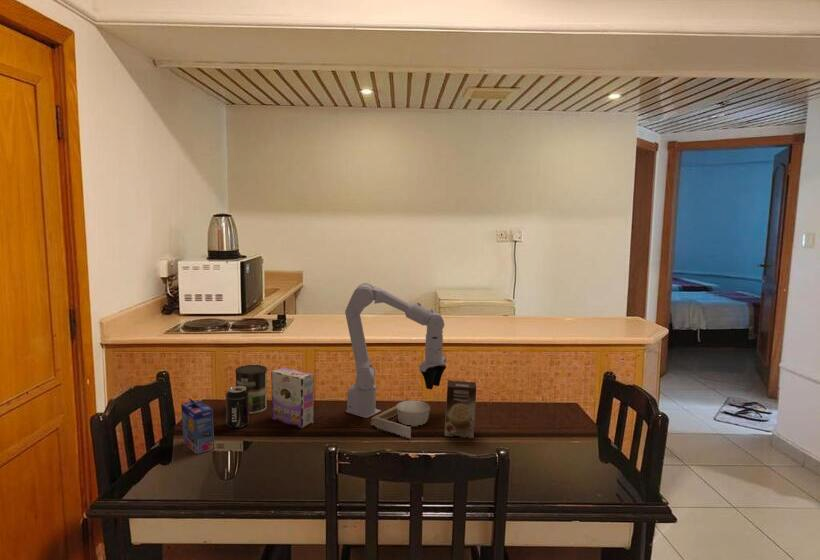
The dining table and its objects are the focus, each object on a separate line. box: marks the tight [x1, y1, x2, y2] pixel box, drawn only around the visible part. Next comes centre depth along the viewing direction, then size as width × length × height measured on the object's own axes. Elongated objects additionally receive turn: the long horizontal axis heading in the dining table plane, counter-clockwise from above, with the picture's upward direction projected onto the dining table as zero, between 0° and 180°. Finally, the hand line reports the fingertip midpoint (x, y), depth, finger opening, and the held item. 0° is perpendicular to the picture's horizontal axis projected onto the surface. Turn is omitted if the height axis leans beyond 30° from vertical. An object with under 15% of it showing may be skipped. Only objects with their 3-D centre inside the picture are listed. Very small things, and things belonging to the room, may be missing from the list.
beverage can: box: [225, 385, 250, 429], centre depth 167 cm, size 7×7×12 cm
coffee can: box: [235, 364, 268, 415], centre depth 181 cm, size 10×10×14 cm
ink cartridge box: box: [180, 397, 215, 455], centre depth 151 cm, size 10×6×14 cm, turn 44°
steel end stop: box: [375, 417, 412, 439], centre depth 164 cm, size 13×1×4 cm, turn 56°
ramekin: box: [395, 400, 431, 427], centre depth 174 cm, size 11×11×5 cm
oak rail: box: [370, 405, 398, 426], centre depth 175 cm, size 2×14×2 cm, turn 146°
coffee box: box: [444, 379, 477, 439], centre depth 165 cm, size 9×6×16 cm
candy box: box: [270, 367, 315, 429], centre depth 171 cm, size 14×6×16 cm, turn 58°
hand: (432, 387), depth 180 cm, fingers open, 4 cm apart
